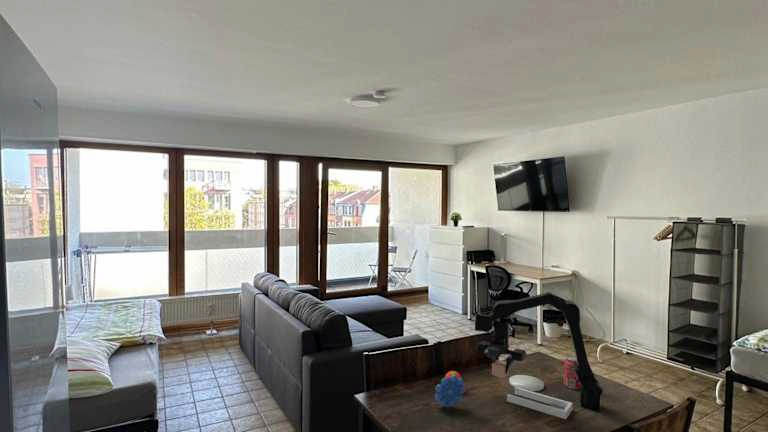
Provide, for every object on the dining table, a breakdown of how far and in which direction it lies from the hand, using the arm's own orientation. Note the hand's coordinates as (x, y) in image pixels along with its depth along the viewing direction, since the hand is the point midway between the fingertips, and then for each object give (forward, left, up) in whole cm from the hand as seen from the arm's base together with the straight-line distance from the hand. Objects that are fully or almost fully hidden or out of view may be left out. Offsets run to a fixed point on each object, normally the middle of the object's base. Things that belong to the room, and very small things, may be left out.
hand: (500, 371), depth 166 cm
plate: (-5, -16, -9) cm, 19 cm away
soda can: (-21, -26, -9) cm, 35 cm away
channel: (-15, 0, -9) cm, 18 cm away
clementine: (+17, +8, -9) cm, 21 cm away
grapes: (+11, +22, -9) cm, 26 cm away
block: (0, 0, -1) cm, 1 cm away
